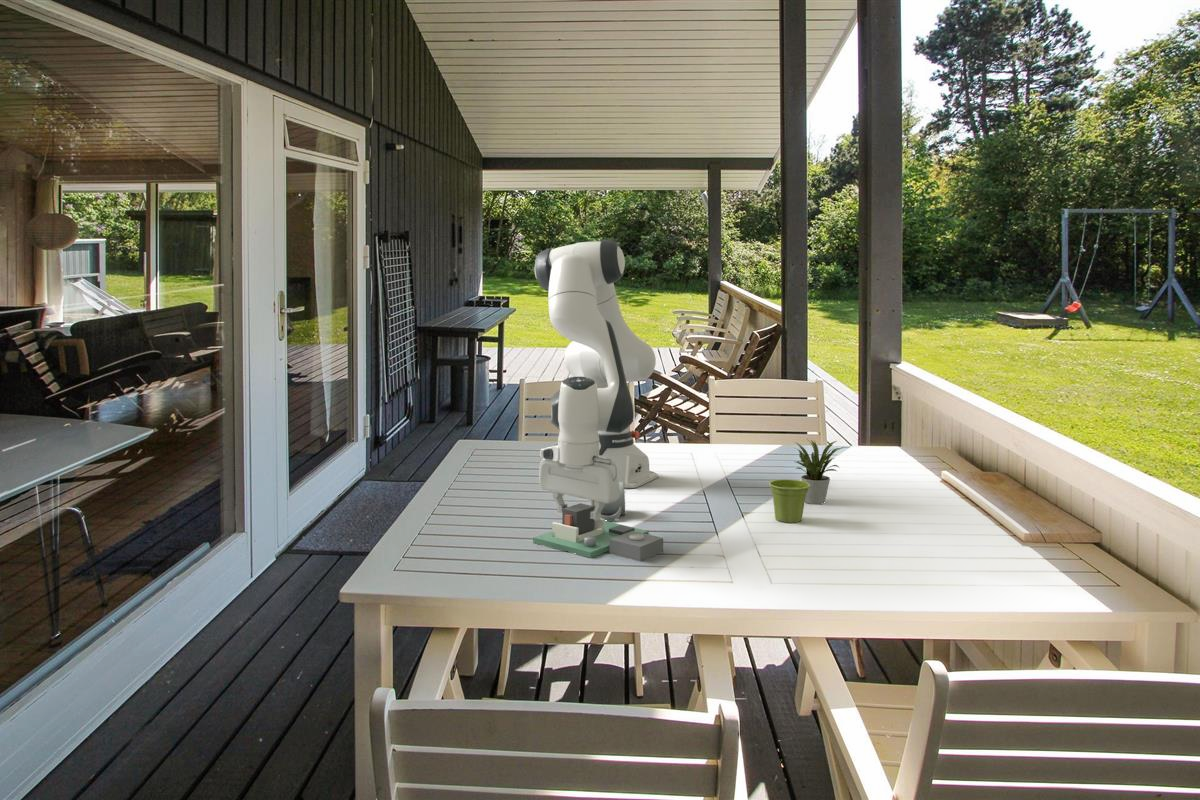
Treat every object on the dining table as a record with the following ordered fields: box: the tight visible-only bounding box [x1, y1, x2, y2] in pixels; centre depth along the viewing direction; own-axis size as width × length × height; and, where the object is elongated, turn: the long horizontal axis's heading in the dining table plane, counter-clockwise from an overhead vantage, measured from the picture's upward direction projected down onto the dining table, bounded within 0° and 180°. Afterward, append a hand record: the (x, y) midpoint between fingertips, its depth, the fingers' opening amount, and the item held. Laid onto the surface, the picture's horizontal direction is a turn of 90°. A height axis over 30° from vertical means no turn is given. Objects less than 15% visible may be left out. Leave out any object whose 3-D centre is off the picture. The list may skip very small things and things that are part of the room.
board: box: [532, 518, 650, 559], centre depth 208 cm, size 20×16×4 cm
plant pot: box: [768, 478, 810, 524], centre depth 224 cm, size 9×9×9 cm
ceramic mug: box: [590, 482, 626, 522], centre depth 227 cm, size 11×8×8 cm
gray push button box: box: [608, 531, 664, 562], centre depth 199 cm, size 8×8×4 cm
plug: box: [561, 502, 595, 535], centre depth 207 cm, size 7×4×6 cm, turn 140°
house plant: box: [793, 438, 851, 505], centre depth 240 cm, size 14×14×16 cm
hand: (578, 516), depth 208 cm, fingers open, 8 cm apart
